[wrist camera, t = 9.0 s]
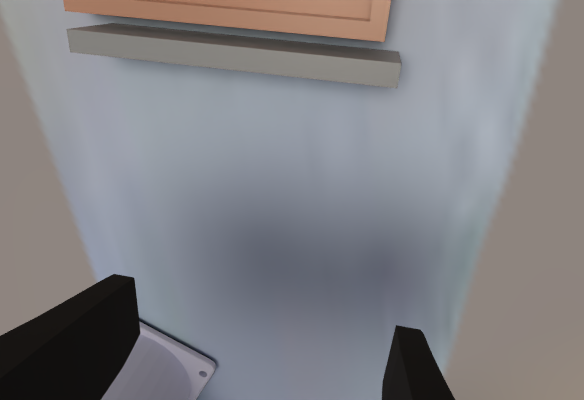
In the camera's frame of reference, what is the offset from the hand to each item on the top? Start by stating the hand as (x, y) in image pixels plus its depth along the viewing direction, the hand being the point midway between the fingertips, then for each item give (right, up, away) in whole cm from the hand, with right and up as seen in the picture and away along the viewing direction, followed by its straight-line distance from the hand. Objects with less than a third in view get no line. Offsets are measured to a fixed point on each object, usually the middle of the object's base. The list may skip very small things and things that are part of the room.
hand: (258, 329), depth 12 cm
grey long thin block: (-1, +10, +6) cm, 12 cm away
